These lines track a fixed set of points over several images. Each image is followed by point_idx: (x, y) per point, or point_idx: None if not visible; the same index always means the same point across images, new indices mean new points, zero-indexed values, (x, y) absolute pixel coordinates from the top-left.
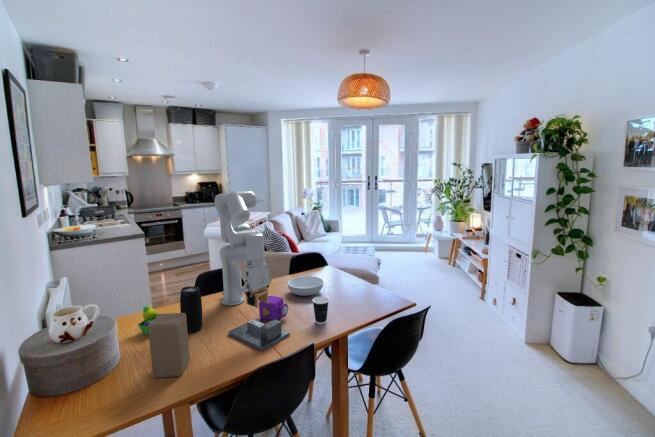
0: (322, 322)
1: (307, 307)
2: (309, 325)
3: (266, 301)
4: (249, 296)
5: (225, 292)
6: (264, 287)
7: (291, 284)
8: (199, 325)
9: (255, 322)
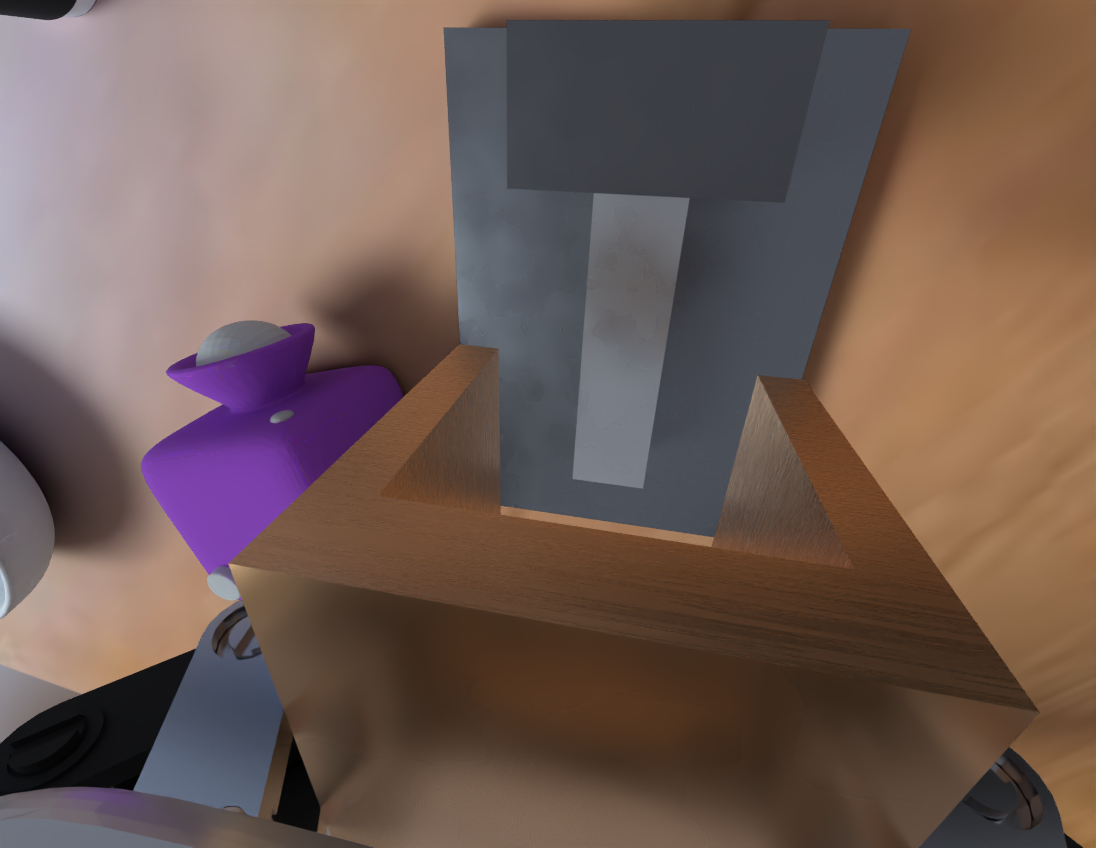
0: None
1: (52, 301)
2: (188, 5)
3: (487, 389)
4: (1008, 791)
5: None
6: (260, 772)
7: (3, 590)
8: None
9: (609, 413)
